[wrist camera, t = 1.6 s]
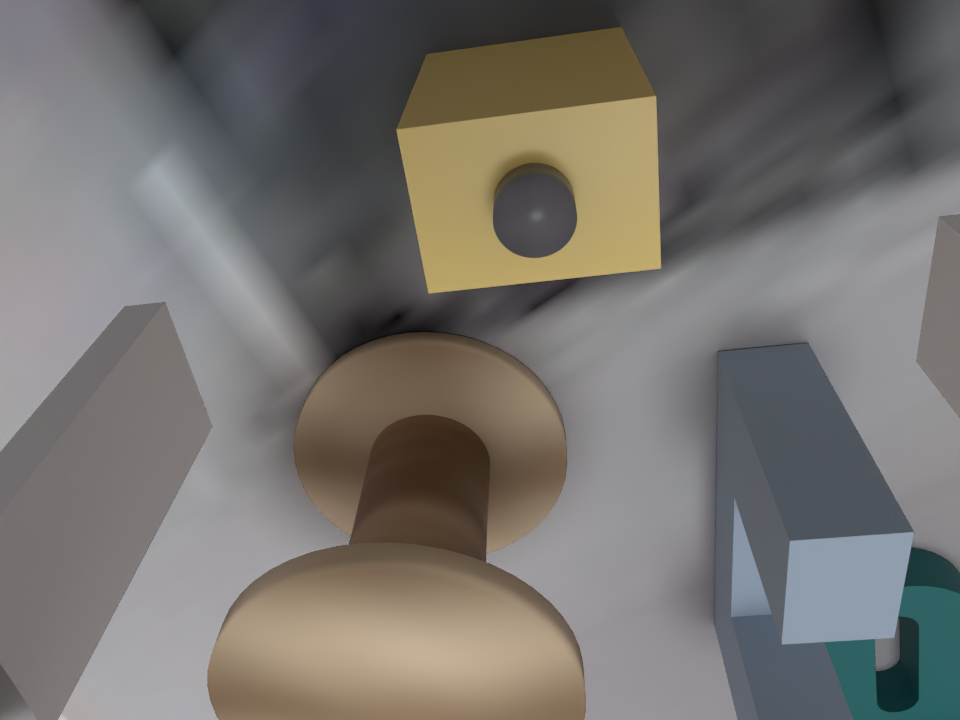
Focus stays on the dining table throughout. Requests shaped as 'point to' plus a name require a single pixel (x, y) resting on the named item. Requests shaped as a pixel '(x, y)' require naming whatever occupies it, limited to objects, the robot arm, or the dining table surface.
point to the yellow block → (533, 162)
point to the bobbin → (411, 550)
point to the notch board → (797, 535)
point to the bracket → (910, 651)
